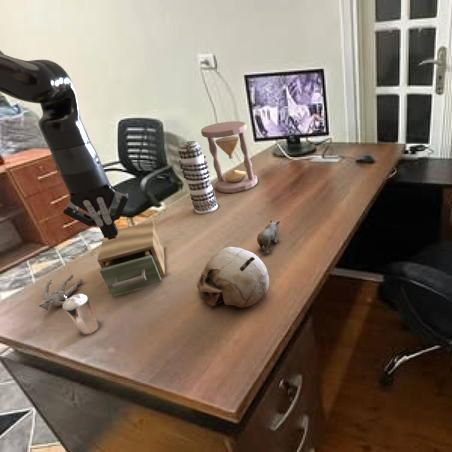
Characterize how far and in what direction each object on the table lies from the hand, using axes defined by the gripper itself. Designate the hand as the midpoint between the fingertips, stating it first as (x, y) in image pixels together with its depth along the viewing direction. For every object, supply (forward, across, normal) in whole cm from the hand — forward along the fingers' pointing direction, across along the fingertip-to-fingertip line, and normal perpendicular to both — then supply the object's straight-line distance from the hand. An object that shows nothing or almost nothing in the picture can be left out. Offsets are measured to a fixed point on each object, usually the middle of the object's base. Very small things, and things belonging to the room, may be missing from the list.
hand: (112, 237), depth 81 cm
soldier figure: (+17, +18, -9) cm, 26 cm away
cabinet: (+17, 0, -13) cm, 21 cm away
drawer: (+16, 0, -6) cm, 17 cm away
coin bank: (+17, -22, +13) cm, 31 cm away
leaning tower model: (+17, -22, -44) cm, 52 cm away
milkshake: (+17, +10, +8) cm, 21 cm away
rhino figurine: (+17, -37, -6) cm, 41 cm away
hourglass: (+17, -37, -61) cm, 73 cm away
